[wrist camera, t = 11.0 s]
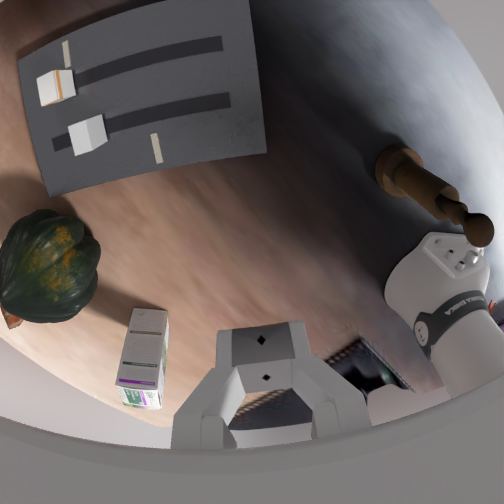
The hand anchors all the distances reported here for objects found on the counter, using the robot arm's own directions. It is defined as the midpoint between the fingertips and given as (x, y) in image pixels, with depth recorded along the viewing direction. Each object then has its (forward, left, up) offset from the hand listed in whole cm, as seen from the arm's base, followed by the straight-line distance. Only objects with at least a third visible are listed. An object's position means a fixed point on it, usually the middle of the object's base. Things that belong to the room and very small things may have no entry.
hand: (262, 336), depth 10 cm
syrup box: (+17, +24, -26) cm, 39 cm away
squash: (+26, +8, -26) cm, 37 cm away
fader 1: (+16, -12, -22) cm, 30 cm away
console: (+10, -9, -26) cm, 29 cm away
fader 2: (+14, -6, -22) cm, 27 cm away
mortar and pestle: (-20, +4, -26) cm, 33 cm away
